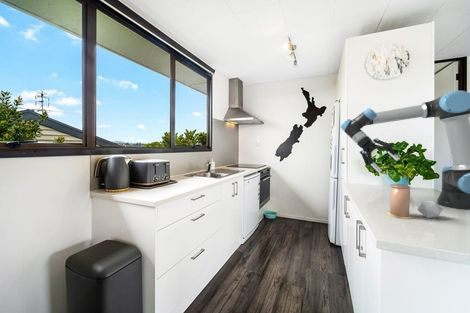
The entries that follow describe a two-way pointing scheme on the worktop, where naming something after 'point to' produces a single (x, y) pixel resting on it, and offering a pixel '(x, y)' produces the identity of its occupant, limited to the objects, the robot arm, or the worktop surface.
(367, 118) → the robot arm
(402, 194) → the jar
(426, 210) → the die
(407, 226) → the worktop surface
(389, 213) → the disc
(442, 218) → the worktop surface
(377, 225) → the worktop surface
